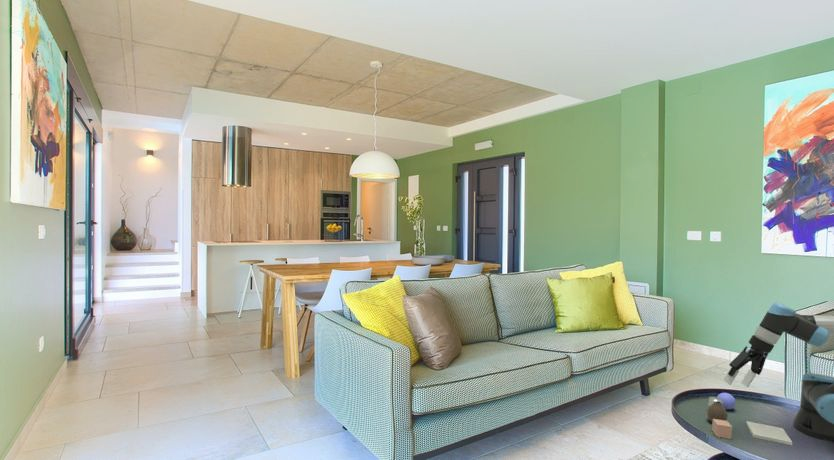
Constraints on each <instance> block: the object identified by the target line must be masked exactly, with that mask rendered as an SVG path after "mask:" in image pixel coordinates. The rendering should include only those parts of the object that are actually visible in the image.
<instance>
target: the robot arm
mask: <svg viewBox="0 0 834 460" xmlns="http://www.w3.org/2000/svg"><path fill="white" fill-rule="evenodd" d="M784 333H785V334H788V335H790V336H792V337H794V338H797V339H798V340H800V341H803V342H805V343H807V344H808V345H812V346H814V347H817V348H818V347H823V346H824V345H825V344H826V343H827V341H828V339H829V337H830V336H834V315H820V314H819V315H817V314H813V315H812V314H811V315H810V314H799V313H797V311H796V310H795V309H793V308H791V307H790V306H787V305H785V304H783V303H781V302H780V303H779V302H773V303H772V305H770V307H769V309H768V310H767V311H766V313H765V315H764V316H763V318H762V320H761V321H760V324H759V325H758V326H756V329H755V331H754V335H751V338H749V340H748V343H749V344H750V347H748V346H747V345H746V346H744V348H743V350H742V351H741V352H740V353H739V354H738V355H737V356H735V358H733V359H732V361H730V363H729V367H730V369H729V370H728V372H727V373H726V375H725V376H724V378H723V382H725V383H726V384H728V385H732V383H733V382H734V381H735V378H736V377H737V376H738V374H739V373H740V369H742V368H743V367H744V366H745V365H747V364H748V363H750V362H751V363H750V369H749V370H748V371H747V372H746V374H744V377H743V379H742V380H741V381H740V383H741V384H742V385H743V386H744V387H746V388H749V386H750V385H751V384H752V382H753V380H754V379H755V378H756V376H757V375H758V376H760V375H761V373H762V372H763V369H764V365H765V362H766V359H767V357H768V356H769V354H770V353H772V351H773V350H774V347H775V345H777V343H778V342H779V339H780V338H781V337H782V335H783V334H784ZM801 382H802V383H801V392H800V393H801V394H800V406H799V409H798V411H797V413H796V414H795V416H794V418H793V421H792V425H793V427H794V428H795V429H796V430H797V431H799V432H800V433H803V434H805V435H808V436H810V437H813V438H816V439H820V440H824V441H830V440H834V376H830V375H825V374H819V373H812V372H807V373H804V374H803V375H802V379H801Z"/></svg>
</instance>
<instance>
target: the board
mask: <svg viewBox="0 0 834 460" xmlns="http://www.w3.org/2000/svg"><path fill="white" fill-rule="evenodd" d="M745 425H746V426H747V428H748V430H749V432H750V434H751V436H752V438H755V439H759V440H764V441H769V442H773V443H774V442H775V443H779V444H784V445H788V446H793V441H792V440H791V438H790V437H789V435H788V433H787V432H786V431H785V430H784V428H782V427H777V426H773V425H767V424H764V423H763V424H762V423H758V422H753V421H747V420H746V422H745Z"/></svg>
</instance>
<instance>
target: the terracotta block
mask: <svg viewBox="0 0 834 460" xmlns="http://www.w3.org/2000/svg"><path fill="white" fill-rule="evenodd" d="M711 423H712V424H711V432H712V431H713V432H714V433H715V434H716V436H719V437H718V438H720V437H722V438H721V439H728V440H731V439H732V434H733V426H732V425H731V424H730V422H729V421H728V420H727V421H725V420H718V419H713V421H712V422H711ZM713 432H712V433H713ZM714 433H713V434H714ZM715 434H714V435H715ZM716 436H715V437H716Z"/></svg>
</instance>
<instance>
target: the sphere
mask: <svg viewBox="0 0 834 460" xmlns="http://www.w3.org/2000/svg"><path fill="white" fill-rule="evenodd" d="M716 397H717V398H720V399H722V400H723V407H724V408H725V410H732V409H733V408H735V407H736V406H737V405H736V403H737V402H736V399H735V397H734V396H733V395H732V394H731V393H728V392H721V393H719V394H718V395H717V396H716Z"/></svg>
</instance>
